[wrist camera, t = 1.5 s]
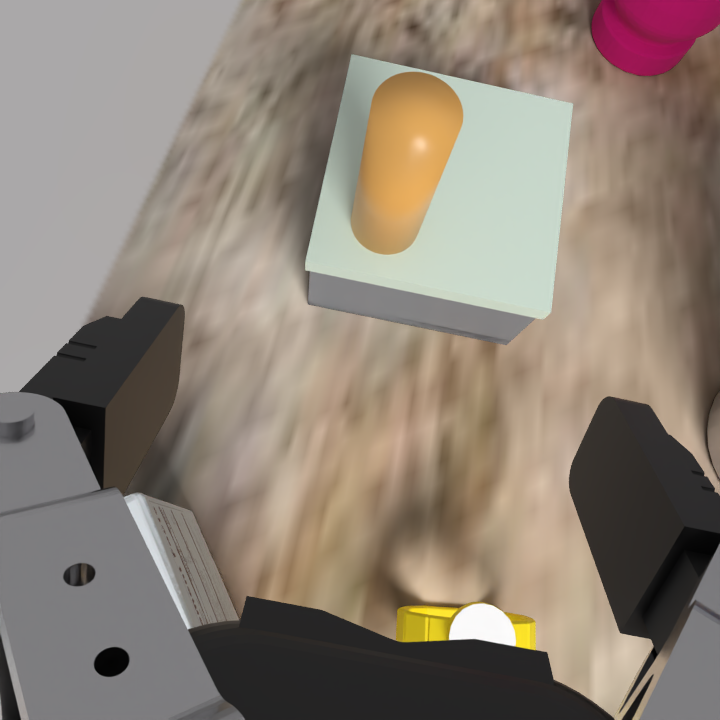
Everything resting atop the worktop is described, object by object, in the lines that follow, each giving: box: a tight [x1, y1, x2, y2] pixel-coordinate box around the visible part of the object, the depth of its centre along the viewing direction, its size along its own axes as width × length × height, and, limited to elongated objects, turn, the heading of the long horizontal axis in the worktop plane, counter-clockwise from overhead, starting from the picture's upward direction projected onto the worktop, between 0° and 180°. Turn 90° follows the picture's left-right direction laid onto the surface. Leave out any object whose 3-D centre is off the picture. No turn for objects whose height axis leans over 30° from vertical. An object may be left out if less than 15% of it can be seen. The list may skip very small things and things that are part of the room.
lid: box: [305, 54, 573, 319], centre depth 28 cm, size 11×11×10 cm
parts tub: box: [308, 271, 535, 345], centre depth 35 cm, size 11×11×5 cm
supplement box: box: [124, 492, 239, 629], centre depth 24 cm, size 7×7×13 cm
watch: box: [396, 602, 536, 650], centre depth 29 cm, size 6×3×6 cm, turn 86°
